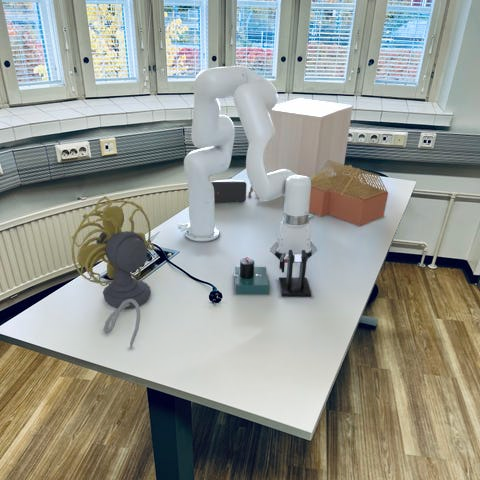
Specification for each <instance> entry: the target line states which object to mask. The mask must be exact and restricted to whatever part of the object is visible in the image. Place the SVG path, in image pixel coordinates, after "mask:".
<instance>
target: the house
mask: <svg viewBox="0 0 480 480" xmlns="http://www.w3.org/2000/svg"><path fill="white" fill-rule="evenodd" d="M328 161H329V160H328ZM328 161H327V162H326V164H327V163H328ZM331 163H332V164H333V163H334V164H333V165H332V164H331ZM326 164H325V165H324V167H325V166H326ZM329 164H331V165H330V166H329ZM329 164H328V165H327V167H329V168H331V170H332V169H334V170H333V171H334V174H335V173H336V175H335V176H334V174H333V175H332V177H331V174H332V173H333V171H332V173H330V172H331V170H329V168H328V170H329V171H328V170H327V171H325V170H326V168H327V167H326V168H325V170H324V171H325V172H324V171H323V173H322V172H321V171H322V170H323V169H324V167H323V168H322V170H321V171H320V173H319V174H316V175H315V176H314V177H313V178H311V179H310V180H311V193H310V205H309V213H311V214H313V215H315V216H316V215H317V216H318V217H323V216H326V215H330V216H332V217H335V218H338V219H340V220H343V221H345V222H348V223H349V224H353V225H355V226H357V227H361V226H363V225H365V224H369V223H371V222H374V221H376V220H379V219H381V218H384V216H385V212H386V206H387V202H388V196H389V192H388V189H387V187H386V185H385V184H384V182H383V180H382V178H381V176H380V174H377V173H374V172H371V171H370V172H369V171H368V170H367V171H366V170H365V169H364V170H363V169H360V168H358V167H357V168H356V167H353V166H352V164H348V165H347V164H345V163H344V164H343V165H342V164H339V162H338V164H339V166H338V164H337V162H334V161H333V162H332V161H329ZM336 164H337V165H336ZM334 165H335V166H334ZM340 165H341V166H340ZM331 166H332V167H331ZM337 166H338V167H337ZM343 166H344V167H343ZM336 168H337V169H336ZM335 169H336V170H335ZM336 171H337V172H336ZM327 173H328V174H329V173H330V174H329V177H328V178H327V176H328V174H327ZM325 174H327V176H326V175H325ZM322 176H323V177H322ZM324 176H325V177H324ZM315 177H316V178H315ZM320 177H321V178H320ZM313 180H314V181H313Z"/></svg>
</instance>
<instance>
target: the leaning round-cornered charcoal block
mask: <svg viewBox="0 0 480 480" xmlns="http://www.w3.org/2000/svg"><path fill="white" fill-rule="evenodd" d="M210 182H211V183H212V185H213V187H214V204H232V203H237V204H238V203H245V202H246V201H247V182H245V181H244V180H238V179H217V180H213V181H210Z"/></svg>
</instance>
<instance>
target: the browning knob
mask: <svg viewBox="0 0 480 480" xmlns="http://www.w3.org/2000/svg"><path fill="white" fill-rule="evenodd" d="M239 267H240V277H242V278H244V279H250V278H252V277H253V276H254V267H255V260H254V258H250V257H248V256H246V257H243V258H241V259H240V261H239Z"/></svg>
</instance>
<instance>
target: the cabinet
mask: <svg viewBox="0 0 480 480" xmlns="http://www.w3.org/2000/svg"><path fill="white" fill-rule="evenodd" d="M353 109H354V105H352V104H346V103H337V102H330V101H321V100H314V99H306V98H296V99H292V100H288V101H286V102H282V103H279V104H278V103H277V104H276V106H275V107H274V108H273V109H272V110H269V111H268V113H269V115H270V118H271V121H272V124H273V127H274V129H275V136H274V137H273V138H272V140H270V141H269V143H268V144H267V146H266V148H265V150H264V155H263V161H264V166H265V169H266V172H267V174H268V173H271V172H275V171H278V170H282V169H286V170H289V171H291V172H293V173H295V174H297V175H301V176H306V177H308V178H309V179H311V178H313V177H314V176H315V175H316V174H319V173H320V171H321V170H322V168H323V167H324V165H325V164H326V162H327V161H328V160H329V161H332V162H333V161H334V162H337V164H338V162H339V164H342V165H343V164H344V166H345V162H346V154H347V147H348V139H349V134H350V127H351V121H352V113H353ZM329 161H328V163H327V164H326V166H325V167H324V169H323V170H322V171H321V172H322V173H323V171H324V170H325V168H326V167H327V165H328V164H329ZM331 164H332V163H331ZM331 164H329V166H330V165H331ZM333 164H334V163H333ZM333 164H332V165H333ZM337 164H336V165H337ZM339 164H338V166H339ZM334 166H335V165H334ZM338 166H337V167H338ZM340 166H341V165H340ZM344 166H343V167H344ZM331 167H332V166H331ZM328 168H329V167H327V168H326V170H325V171H327V170H328ZM336 169H337V168H336ZM336 169H335V170H336ZM329 170H331V168H329ZM329 170H328V171H329ZM333 170H334V169H332V170H331V172H330V173H332V171H333ZM325 171H324V172H325ZM336 172H337V171H336ZM330 173H329V174H330ZM327 174H328V173H327ZM327 174H325V175H326V176H327ZM329 174H328V176H327V178H328V177H329ZM333 174H334V171H333V173H332V174H331V177H332V175H333ZM335 175H336V173H335V174H334V176H335ZM322 177H323V176H322ZM324 177H325V176H324ZM315 178H316V177H315ZM320 178H321V177H320ZM313 181H314V180H313Z"/></svg>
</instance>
